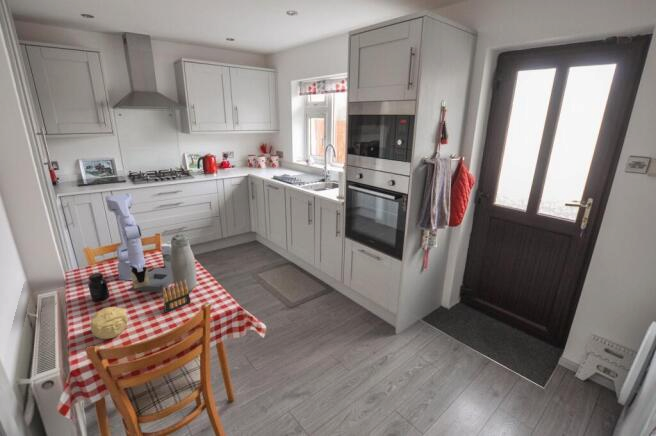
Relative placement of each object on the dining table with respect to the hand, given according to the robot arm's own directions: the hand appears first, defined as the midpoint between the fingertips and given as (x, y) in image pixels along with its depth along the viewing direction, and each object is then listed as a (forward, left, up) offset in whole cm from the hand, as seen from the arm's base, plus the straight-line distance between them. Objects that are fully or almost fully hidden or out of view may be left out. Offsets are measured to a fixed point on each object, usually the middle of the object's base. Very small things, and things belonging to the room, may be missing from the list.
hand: (140, 280), depth 144 cm
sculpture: (+4, -24, -10) cm, 26 cm away
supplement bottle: (-19, -3, -10) cm, 21 cm away
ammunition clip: (+19, -4, -10) cm, 22 cm away
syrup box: (-5, +30, -10) cm, 32 cm away
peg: (0, 0, -2) cm, 2 cm away
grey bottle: (+15, +10, -10) cm, 20 cm away
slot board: (-3, +15, -9) cm, 18 cm away
